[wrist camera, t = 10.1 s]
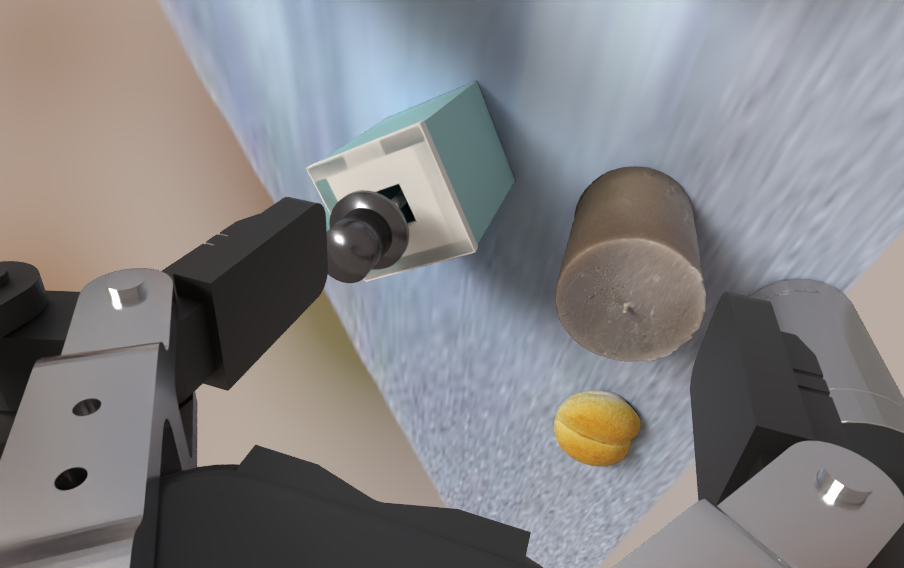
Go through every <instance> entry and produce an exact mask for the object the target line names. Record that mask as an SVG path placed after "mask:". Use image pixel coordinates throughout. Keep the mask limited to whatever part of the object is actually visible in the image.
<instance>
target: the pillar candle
mask: <svg viewBox="0 0 904 568" xmlns="http://www.w3.org/2000/svg"><path fill="white" fill-rule="evenodd" d="M574 218H575V220H574V222H573V224H572V229H571V233H570V238H569V241H568V244H567V248H566V252H565V256H564V259H563V262H562V267H561V270H560V274H559V279H558V282H557V286H556V307H557V312H558V316H559V319H560V321H561V323H562V325H563V326H564V328H565V330H566V331H567V332H568V333H569V335H570V336H571V337H572V338H573V339H574V340H575V341H576V342H577V343H579V344H580V345H581V346H583V347H584V348H586V349H588V350H589V351H591V352H593V353H595V354H598V355H601V356H604V357H607V358H609V359H616V360H621V361H654V360H657V359H658V358H663V357H666V356H668V355H671V354H672V353H673V351H677V350H678V348H679V347H681V346H682V345H683V344H684V343H686V342H687V341H689V340H691V339H692V338H693V334H694V333H695V332H696V331H697V330H698V329H699V328H700V325H701V321H702V319H703V316H704V313H705V312H706V291H705V287H704V281H703V280H704V279H703V275H702V267H701V261H700V253H699V248H698V241H697V233H696V228H695V223H694V216H693V209H692V206H691V203H690V201H689V197H688V196H687V194H686V193H685V192H684V190H683V188H682V186H681V185H680V184H679V183H677V182H676V181H675V180H674V179H672V178H671V177H670V176H668V175H666V174H664V173H662V172H660V171H657V170H654V169H651V168H645V167H623V168H618V169H615V170H612V171H609V172H607V173H605V174H603V175H601V176H600V177H598V178H597V179H596V180H594V181H593V182H592V184H591V185H589V186H588V187H587V188H586V189H585V191H584V193H583V194H582V195H581V197H580V199H579V201H578V204H577V206H576V210H575V217H574Z"/></svg>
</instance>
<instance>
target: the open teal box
mask: <svg viewBox="0 0 904 568" xmlns="http://www.w3.org/2000/svg"><path fill="white" fill-rule="evenodd" d="M306 169H307V171H308V173H309V175H310V177H311V179H312V181H313V183H314V185H315V187H316V188H317V190H318V192H319V194H320V196H321V198H322V200H323V202H324V204H325V206H326V208H325V213H326V230H327V231H328V230H329V229H330V226H329V220H330V215H331V212H332V210H333V208H334V206H335V205H336V203H337V202H339V201H340V200H341V199H342V198H343V197H344V196H346V195H347V194H349V193H352V192H355V191H360V190H367V191H373V192H376V193H379V194H381V195H383V196H385V197H387V198H388V199H390V200H391V199H392V198H393V197H394V196H395V195H396V194H397V193H398V192H399V191H400V190H401V189H402V191H403V193H404V195H405V197H406V200H407V202H406V203H405V204H404V206H403V207H402V208H401V209H400V211H401V212H402V213H403V215H404V217H405V219H406V222H407V224H408V228H409V243H408V247H407V249H406V251H405V253H404V254H403V255H402V257H401V258H400V259H399V260H398V261H397V262H396V263H395V264H394V265H392V266H390V267H388V268H385V269H379V270H373V269H371V271H370V272H369V273H368V274H367V275H366V276H365V277H364V280H365V282H366V281H370V280H374V279H378V278H381V277H385V276H389V275H393V274H396V273H400V272H404V271H408V270H411V269H415V268H419V267H423V266H426V265H430V264H434V263H438V262H441V261H445V260H449V259H453V258H456V257H460V256H464V255H468V254H471V253H475V252H476V251H477V249H478V243H479V241H480V240H481V238H482V236H483V235H484V233H485V231H486V230H487V228H488V226H489V224H490V223H491V221H492V219H493V218H494V216H495V214H496V213H497V211H498V209H499V208H500V206H501V204H502V202H503V201H504V199H505V197H506V196H507V194H508V192H509V191H510V189H511V187H512V185H513V184H514V182H515V179H514V176H513V174H512V171H511V169H510V166H509V163H508V161H507V158H506V155H505V153H504V150H503V148H502V145H501V142H500V140H499V137H498V135H497V132H496V129H495V127H494V124H493V122H492V119H491V116H490V114H489V111H488V108H487V106H486V103H485V101H484V98H483V95H482V93H481V90H480V88H479V85H478V82H477V81H475V82H472V83H470V84H468V85H465V86H463V87H460V88H458V89H456V90H453V91H451V92H448V93H446V94H443V95H441V96H439V97H436V98H434V99H431V100H429V101H426V102H424V103H422V104H419V105H417V106H414V107H412V108H409V109H407V110H405V111H402V112H400V113H397V114H395V115H392V116H390V117H388V118H386V119H384V120H383V121H381V122H379V123H378V124H376V125H375V126H373V127H372V128H370V129H369V130H367V131H366V132H364V133H363V134H361V135H359V136H358V137H356V138H355V139H353V140H352V141H350V142H349V143H347V144H346V145H344V146H343V147H341V148H339V149H338V150H336V151H335V152H333V153H332V154H330V155H329V156H327V157H326V158H324V159H323V160H321V161H319V162H317V163H314V164H312V165H310V166H309V167H307V168H306Z"/></svg>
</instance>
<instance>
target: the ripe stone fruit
mask: <svg viewBox="0 0 904 568" xmlns="http://www.w3.org/2000/svg"><path fill="white" fill-rule="evenodd" d="M640 428H641V423H640V419H639V417H638V415H637V414H636V412H635V411H634V410H633V409H632V407H631V406H630V405H629V404H628V403H627V402H626V401H625V400H623V399H622V398H621V397H620V396H619V395H616V394H614V393H611V392H608V391H601V390H589V391H584V392H580V393H576V394H573V395H571V396H570V397H568V398H567V399H566V400H565V401H564V402H563V403H562V404H561V406H560V407H559V408H558V411H557V414H556V418H555V422H554V430H555V437H556V440H557V442H558V444H559V445H560V447H561V448H562V450H563V451H565V452H566V453H567V454H568V455H569V456H571V457H572V458H573V459H575V460H577V461H579V462H581V463H584V464H587V465H591V466H609V465H612V464H615V463H617V462H619V461H621V460H622V459H623V458H624V457H625V456H626V455H627V453H628V451H629V449H630V445H631V440H632V439H633V438H635V437H636V436H637V435H638V433H639V431H640Z"/></svg>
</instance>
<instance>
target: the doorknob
mask: <svg viewBox="0 0 904 568" xmlns="http://www.w3.org/2000/svg"><path fill="white" fill-rule="evenodd" d="M406 202H407V200H406V197H405V195H404V193H403V191H402V189H401V190H400V191H399V192H398V193H397V194H396V195H395V196H394V197H393V198H392V199H391V200H390V199H388V198H387V197H385V196H383V195H381V194H379V193H376V192H373V191H367V190H360V191H355V192H352V193H349V194H347V195H346V196H344V197H343V198H342V199H341V200H340V201H339V202H337V203H336V205H335V206H334V208H333V210H332V212H331V215H330V220H329V226H330V229H329V230H328V231H327V258H328V274H329V275H330V276H331V277H332V278H334V279H336V280H338V281H341V282H344V283H355V282H358V281H360V280H362V279H363V278H364V277H365V276H366V275H367V274H368V273H369V272H370V271H371V269H373V270H379V269H385V268H388V267H390V266H392V265H394V264H395V263H396V262H397V261H398V260H399V259H400V258H401V257H402V255H403V254H404V253H405V251H406V249H407V247H408V243H409V228H408V224H407V222H406V219H405V217H404V215H403V213H402V212H401V211H400V209H401V208H402V207H403V206H404V204H405V203H406Z"/></svg>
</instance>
